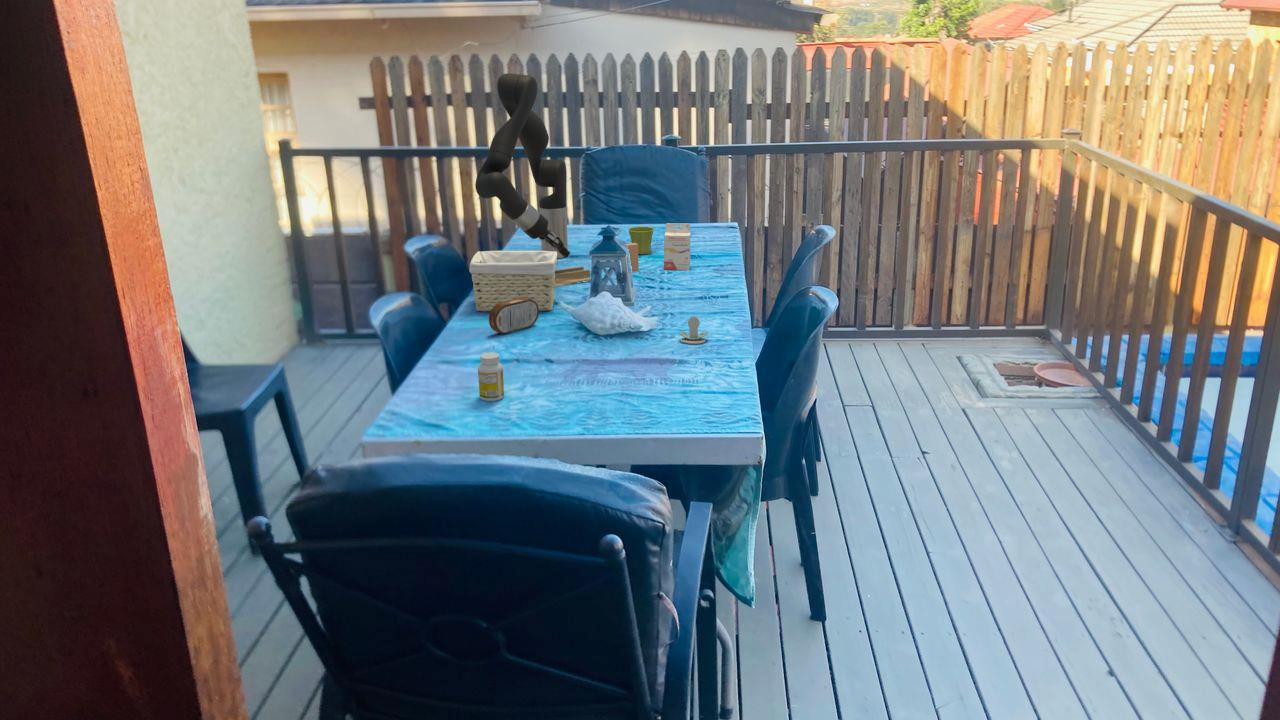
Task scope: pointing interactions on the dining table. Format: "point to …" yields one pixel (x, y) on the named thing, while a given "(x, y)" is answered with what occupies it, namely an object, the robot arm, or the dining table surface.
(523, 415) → the dining table surface
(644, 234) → the plant pot
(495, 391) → the supplement bottle
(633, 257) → the cover plate
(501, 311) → the tin
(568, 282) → the holder
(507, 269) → the storage basket
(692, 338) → the pacifier
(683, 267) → the ink cartridge box
